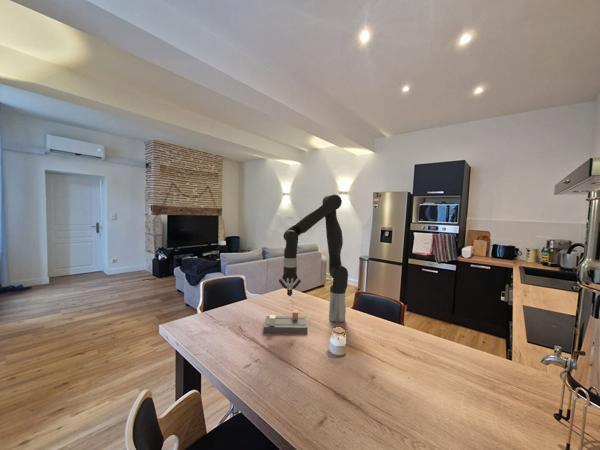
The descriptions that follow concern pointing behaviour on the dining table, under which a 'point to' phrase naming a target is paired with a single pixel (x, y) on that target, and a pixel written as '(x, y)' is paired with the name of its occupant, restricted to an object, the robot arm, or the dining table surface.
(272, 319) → the cream fader
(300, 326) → the fader console
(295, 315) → the terracotta fader
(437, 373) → the dining table surface
